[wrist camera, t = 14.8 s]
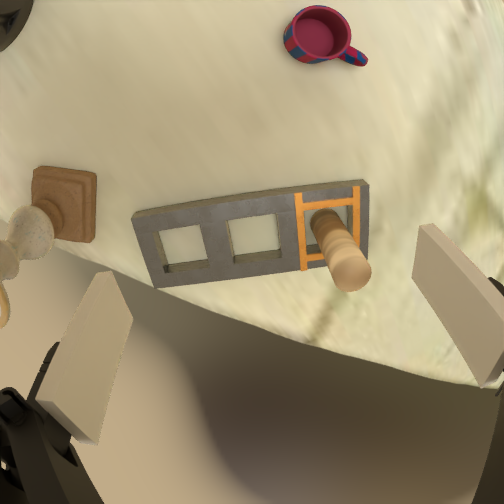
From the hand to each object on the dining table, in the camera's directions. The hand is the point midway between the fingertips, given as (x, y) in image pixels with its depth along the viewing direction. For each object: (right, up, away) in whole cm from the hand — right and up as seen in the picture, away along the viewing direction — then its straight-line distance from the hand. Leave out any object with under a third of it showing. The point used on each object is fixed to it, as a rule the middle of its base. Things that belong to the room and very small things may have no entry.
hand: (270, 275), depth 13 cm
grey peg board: (0, +4, +34) cm, 34 cm away
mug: (+8, +27, +21) cm, 35 cm away
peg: (+10, +5, +33) cm, 35 cm away
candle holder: (-30, +9, +30) cm, 43 cm away
